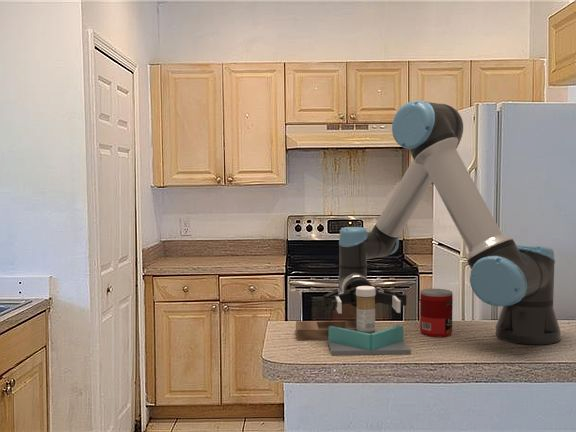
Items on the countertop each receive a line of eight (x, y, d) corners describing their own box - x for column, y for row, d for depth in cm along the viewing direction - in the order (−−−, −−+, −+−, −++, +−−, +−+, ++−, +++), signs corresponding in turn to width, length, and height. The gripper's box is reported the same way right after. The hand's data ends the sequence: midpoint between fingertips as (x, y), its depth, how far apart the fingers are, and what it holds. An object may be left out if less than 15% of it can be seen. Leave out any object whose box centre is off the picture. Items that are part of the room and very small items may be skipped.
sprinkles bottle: (373, 340, 159) (373, 285, 158) (377, 345, 154) (377, 288, 153) (354, 341, 158) (354, 285, 157) (358, 346, 154) (358, 289, 153)
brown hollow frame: (364, 330, 173) (364, 320, 173) (370, 339, 164) (370, 329, 164) (296, 331, 173) (295, 321, 173) (297, 340, 163) (297, 330, 163)
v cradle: (400, 340, 163) (400, 322, 162) (410, 354, 151) (410, 334, 150) (327, 341, 162) (327, 323, 162) (331, 355, 150) (331, 335, 150)
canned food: (452, 338, 164) (453, 294, 164) (420, 336, 166) (420, 293, 165) (451, 330, 172) (451, 288, 171) (420, 329, 173) (420, 288, 173)
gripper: (404, 303, 174) (423, 322, 153) (310, 305, 174) (315, 324, 152) (404, 275, 174) (423, 290, 153) (309, 276, 173) (315, 291, 152)
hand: (369, 307), depth 152 cm, fingers open, 13 cm apart
